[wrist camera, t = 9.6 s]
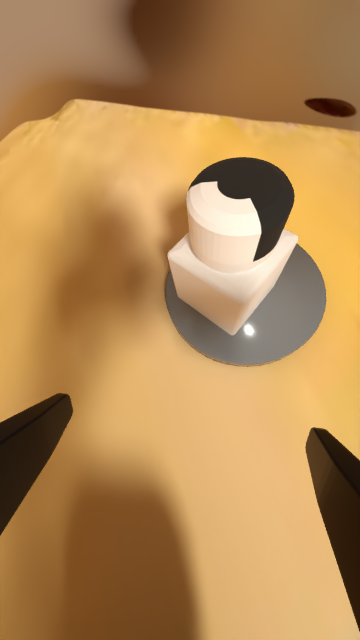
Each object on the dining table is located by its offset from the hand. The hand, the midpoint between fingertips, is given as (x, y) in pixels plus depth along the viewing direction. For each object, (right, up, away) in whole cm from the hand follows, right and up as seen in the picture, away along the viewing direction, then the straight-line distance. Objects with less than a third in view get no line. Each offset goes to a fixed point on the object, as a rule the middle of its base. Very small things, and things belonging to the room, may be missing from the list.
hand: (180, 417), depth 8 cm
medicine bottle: (+5, +7, +15) cm, 17 cm away
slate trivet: (+7, +7, +16) cm, 19 cm away
